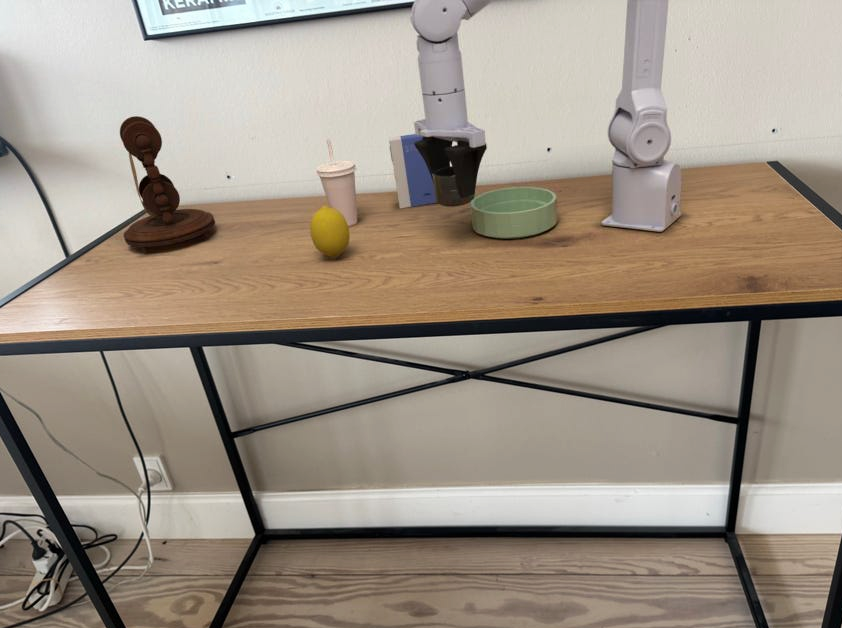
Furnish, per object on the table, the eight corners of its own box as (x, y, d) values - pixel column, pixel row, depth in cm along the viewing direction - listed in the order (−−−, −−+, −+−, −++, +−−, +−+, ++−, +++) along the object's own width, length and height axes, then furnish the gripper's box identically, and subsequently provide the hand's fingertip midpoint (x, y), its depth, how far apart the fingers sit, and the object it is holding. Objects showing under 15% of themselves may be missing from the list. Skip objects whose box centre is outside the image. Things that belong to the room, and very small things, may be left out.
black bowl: (483, 197, 100) (480, 166, 98) (460, 209, 96) (456, 178, 94) (451, 194, 103) (448, 164, 101) (428, 205, 99) (424, 175, 97)
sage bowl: (572, 217, 109) (571, 190, 107) (529, 245, 100) (528, 217, 98) (501, 209, 116) (500, 184, 114) (456, 235, 107) (453, 208, 105)
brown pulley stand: (125, 238, 123) (83, 121, 113) (210, 219, 128) (176, 105, 118) (131, 262, 111) (85, 134, 101) (224, 240, 116) (189, 116, 106)
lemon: (360, 251, 105) (350, 199, 101) (342, 266, 100) (332, 212, 96) (328, 250, 107) (317, 199, 103) (309, 264, 102) (297, 212, 98)
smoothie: (320, 228, 116) (302, 143, 110) (340, 216, 121) (324, 134, 115) (353, 230, 114) (336, 143, 107) (372, 217, 119) (357, 133, 112)
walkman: (441, 197, 125) (433, 129, 119) (443, 202, 123) (435, 132, 117) (398, 204, 124) (387, 135, 118) (399, 208, 122) (388, 138, 116)
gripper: (390, 93, 96) (405, 189, 103) (448, 101, 85) (460, 208, 92) (433, 84, 99) (444, 178, 106) (494, 90, 88) (502, 195, 95)
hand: (454, 191), depth 99 cm, fingers closed on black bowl, 6 cm apart
